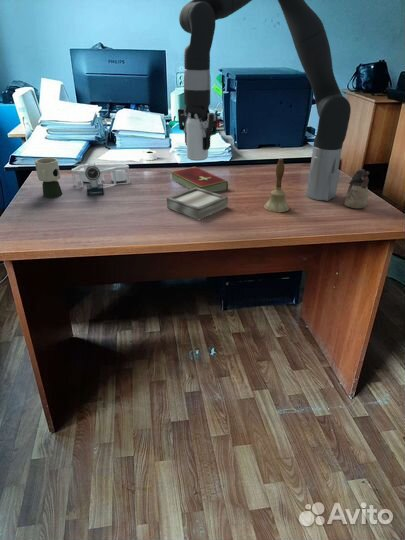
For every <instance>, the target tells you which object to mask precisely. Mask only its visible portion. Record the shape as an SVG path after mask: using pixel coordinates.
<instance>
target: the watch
mask: <svg viewBox="0 0 405 540" xmlns="http://www.w3.org/2000/svg"><path fill="white" fill-rule="evenodd" d="M95 164H96V163H88V164H87V165H88V166H87V169H86V171H85V175H86V177H87V179H88V181H89V182H88V183H89V184H87V185H86V192H87V196H98V195H99V196H100V195H104V194H105V192H104V191H105V190H104V189H105V187H104V185H103V184H104V183H101V184H98V182H99V178H101V175H102V173H101V172H100V171H99V169H98V167H97V165H95Z"/></svg>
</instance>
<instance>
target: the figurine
mask: <svg viewBox="0 0 405 540" xmlns="http://www.w3.org/2000/svg"><path fill="white" fill-rule="evenodd" d="M369 175H370V171H368V170H367V171H366V170H365V169H364V168H363V169H361V168H360V169H358V170H357V171H356V172H354V175H353V176H352V177H351V180H350V181H349V183H348V184H349V186H348V188H347V192H346V194H345V197H344V200H343V204H344V206H345V207H348V208H351V209H363V208H366V206H367V204H368V199H369V197H368V196H369V190H368V185H369V181H370V180H369V177H368V176H369Z"/></svg>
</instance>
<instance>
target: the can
mask: <svg viewBox="0 0 405 540" xmlns="http://www.w3.org/2000/svg"><path fill="white" fill-rule="evenodd" d="M199 119H201V118H199ZM199 119H198V118H189V117H188V120H187V123H186V128H187V146H186V158H187V159H188V160H190V161H197V162H199V161H204V160H207V159H208V158H209V149H207V150H203V134H202V129H200V122H199ZM201 122H202V121H201ZM207 124H208V123H207V121H204V122H202V125H203V126H204V125H207ZM205 130H206V132H207V128H205Z"/></svg>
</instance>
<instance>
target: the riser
mask: <svg viewBox="0 0 405 540" xmlns="http://www.w3.org/2000/svg"><path fill="white" fill-rule="evenodd" d="M228 198H229V197H228V196H227V195H223V194H219V193H216V192H210V191H207V190H204V189H200V188H197V187H195V188H193V189H187V190H185V191H182V192H179V193H176V194H173V195H171V196H169V197H166V208H168V209H171V210H172V211H175V212H178V213H180V214H182V215H185V216H187V215H188V216H187V217H190V216H191V217H190V218H192V217H193V218H192V219H195V218H196V219H195V220H197V219H200V220H202V219H204V217H205V218H206V216H207V217H209V216H211V215H214V214H216V213H218V212H220V211H223V210H224V209H226V208H228V204H229V203H228V200H229V199H228ZM213 213H214V214H213ZM208 215H209V216H208ZM201 218H202V219H201Z"/></svg>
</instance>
